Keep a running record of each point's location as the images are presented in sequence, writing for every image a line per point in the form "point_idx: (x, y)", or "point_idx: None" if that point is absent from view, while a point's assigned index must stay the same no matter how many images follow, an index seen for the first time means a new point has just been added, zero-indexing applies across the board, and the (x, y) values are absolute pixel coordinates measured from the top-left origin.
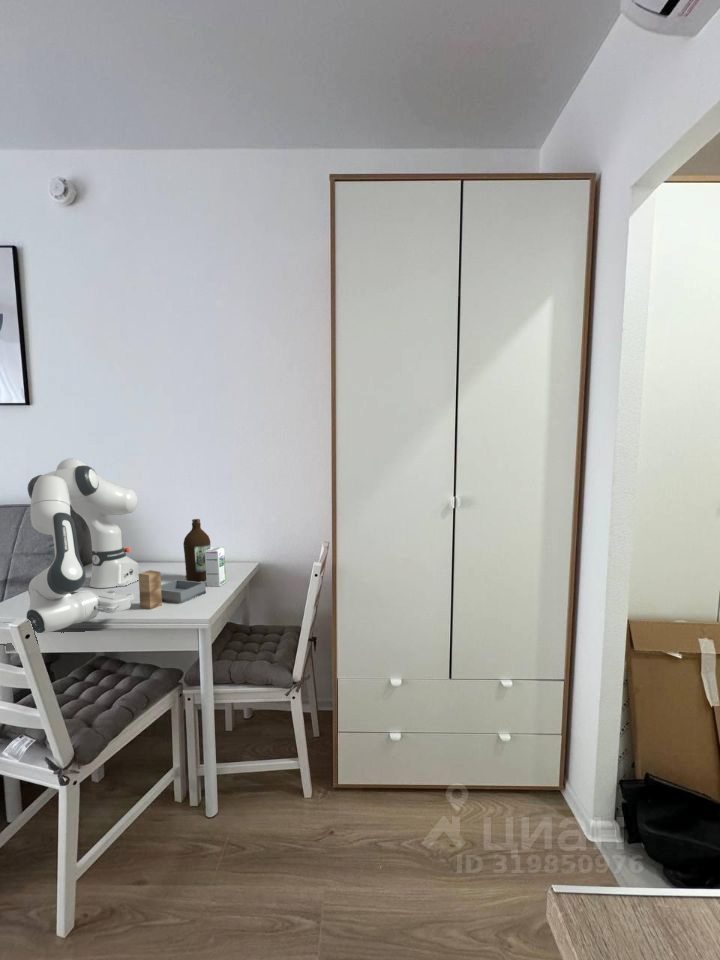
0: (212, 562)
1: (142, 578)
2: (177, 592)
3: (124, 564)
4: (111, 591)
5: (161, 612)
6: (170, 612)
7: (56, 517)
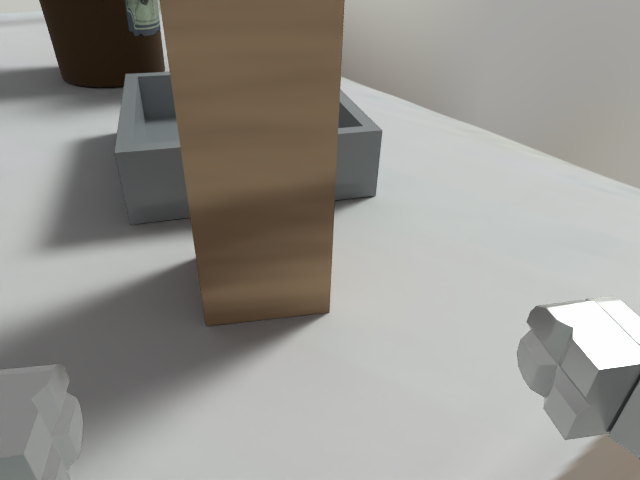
0: None
1: (231, 49)
2: (357, 134)
3: None
4: (38, 414)
5: (471, 307)
6: (515, 281)
7: None
